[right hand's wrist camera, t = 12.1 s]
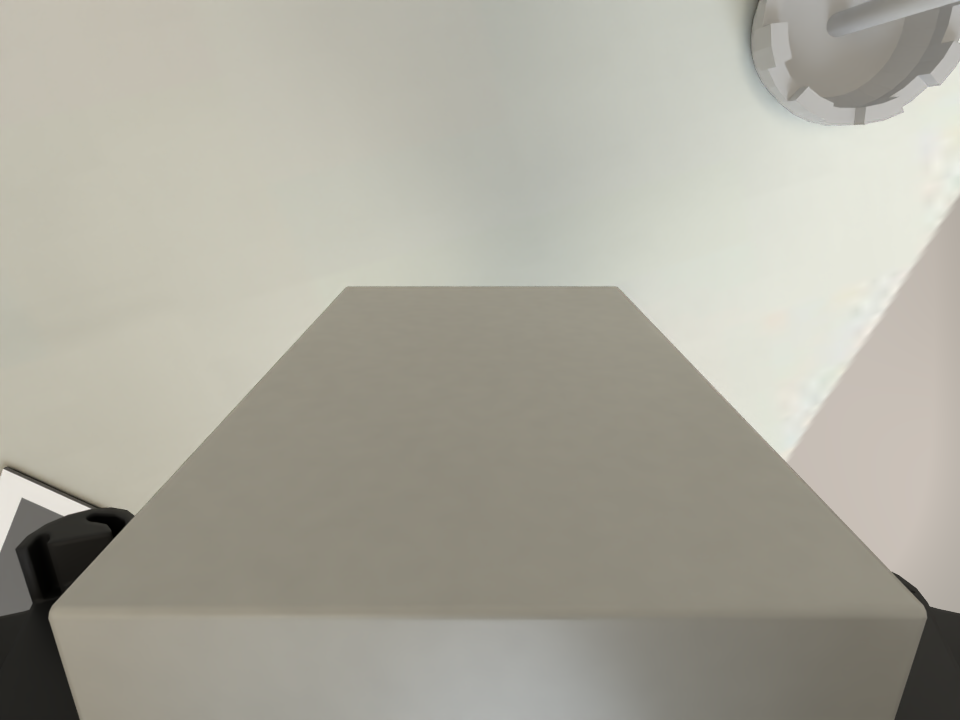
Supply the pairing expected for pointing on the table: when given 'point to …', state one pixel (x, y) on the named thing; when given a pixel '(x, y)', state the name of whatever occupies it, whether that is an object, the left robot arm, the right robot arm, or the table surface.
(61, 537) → the right robot arm
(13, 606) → the tablet
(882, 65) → the flag stand
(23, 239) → the table surface
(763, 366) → the table surface
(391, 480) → the box
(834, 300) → the table surface
